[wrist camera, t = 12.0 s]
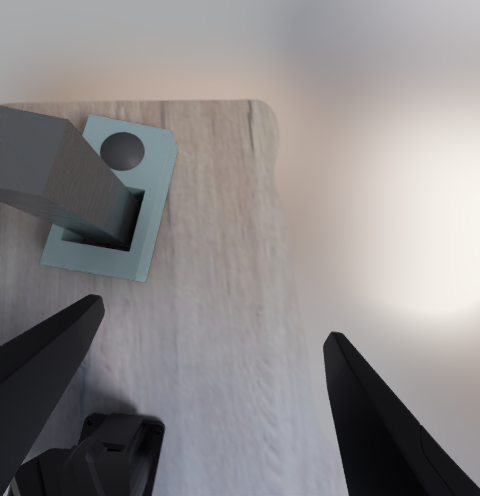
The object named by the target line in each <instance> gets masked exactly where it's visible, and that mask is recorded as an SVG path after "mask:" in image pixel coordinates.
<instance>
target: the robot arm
mask: <svg viewBox="0 0 480 496" xmlns="http://www.w3.org/2000/svg"><path fill="white" fill-rule="evenodd" d="M104 313H105V309H104V304H103V299H102V297H101V296H99V295H93V294H90V295H87V296H86V297H84V298H82V299H80V300H79V301H77V302H75V303H74V304H72V305H70V306H68V307H67V308H65V309H63V310H62V311H60V312H58V313H56V314H55V315H53V316H51V317H50V318H48V319H46V320H44V321H43V322H41V323H39V324H38V325H36V326H34V327H32V328H31V329H29V330H27V331H26V332H24V333H22V334H21V335H19V336H17V337H15V338H14V339H12V340H10V341H9V342H7V343H5V344H3V345H2V346H0V496H3V494H4V492H5V491H6V489H7V487H8V486H9V484H10V487H9V491H8V495H7V496H152V492H153V487H154V483H155V478H156V473H157V468H158V463H159V458H160V453H161V448H162V443H163V438H164V433H165V425H164V424H163V423H161V422H155V421H148V420H143V419H142V418H141V417H138V416H130V415H123V414H116V413H111V414H110V415H104V414H97V413H92V414H90V415H89V416H88V417H87V418H86V419H85V421H84V424H83V428H82V432H81V436H80V440H79V443H78V446H73V447H72V448H71V449H58V448H52V449H49V450H47V451H45V452H44V453H42V454H40V455H38V456H37V457H35V458H33V459H31V460H30V461H28V462H26V463H24V464H22V462H23V460H24V459H25V457H26V455H27V454H28V452H29V450H30V449H31V447H32V445H33V443H34V442H35V440H36V438H37V437H38V435H39V433H40V432H41V430H42V428H43V427H44V425H45V423H46V421H47V420H48V418H49V416H50V415H51V413H52V411H53V410H54V408H55V406H56V405H57V403H58V401H59V400H60V398H61V396H62V394H63V393H64V391H65V389H66V388H67V386H68V384H69V383H70V381H71V379H72V378H73V376H74V374H75V372H76V371H77V369H78V367H79V366H80V364H81V362H82V361H83V359H84V357H85V355H86V353H87V351H88V349H89V347H90V345H91V343H92V341H93V338H94V336H95V334H96V332H97V330H98V328H99V325H100V323H101V321H102V319H103V317H104ZM323 352H324V361H325V373H326V382H327V390H328V395H329V400H330V405H331V410H332V415H333V420H334V425H335V430H336V435H337V439H338V444H339V449H340V454H341V459H342V464H343V469H344V474H345V479H346V484H347V489H348V493H349V496H480V488H479V487H478V486H477V485H476V484H475V483H474V482H473V481H472V480H471V479H470V478H469V477H468V476H467V475H466V473H465V472H464V471H463V470H462V469H461V468H460V467H459V466H458V465H457V464H456V463H455V462H454V461H453V460H452V459H451V458H450V456H449V455H448V454H447V453H446V452H445V451H444V450H443V449H442V448H441V446H440V445H439V444H438V443H437V442H436V441H435V440H434V439H433V437H432V436H431V435H430V434H429V433H428V432H427V430H426V429H425V428H424V427H423V426H422V425H420V423H419V421H418V420H417V419H416V418H415V417H414V415H413V414H412V413H411V412H410V411H409V410H408V409H407V407H406V406H405V405H404V404H403V403H402V402H401V400H400V399H399V398H398V397H397V396H396V395H395V394H394V392H393V391H392V390H391V389H390V388H389V386H388V385H387V384H386V383H385V382H384V381H383V380H382V378H381V377H380V376H379V375H378V374H377V373H376V372H375V370H374V369H373V368H372V367H371V366H370V364H369V363H368V362H367V361H366V360H365V359H364V358H363V356H362V355H361V354H360V353H359V352H358V351H357V350H356V348H355V347H354V346H353V345H352V344H351V343H350V341H349V340H348V339H347V338H346V337H345V335H344V334H342V333H340V332H331V333H330V334H329V336H328V338H327V339H326V341H325V343H324V346H323ZM90 419H93V420H94V423H91V422H90ZM157 428H160V429H161V432H157V431H156V429H157ZM21 464H22V465H21ZM20 465H21V466H20ZM10 482H11V483H10Z"/></svg>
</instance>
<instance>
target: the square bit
mask: <svg viewBox="0 0 480 496" xmlns="http://www.w3.org/2000/svg"><path fill="white" fill-rule="evenodd" d="M0 201H1V202H3V203H6V204H8V205H10V206H13V207H15V208H17V209H20V210H22V211H24V212H27V213H29V214H31V215H34V216H36V217H38V218H41V219H43V220H45V221H47V222H50V223H52V224H54V225H57V226H59V227H61V228H64V229H66V230H68V231H71V232H73V233H75V234H78V235H80V236H82V237H85V238H87V239H89V240H92V241H96V242H102V243H107V244H113V245H119V246H125V247H130V248H131V244H132V240H133V236H134V232H135V229H136V225H137V221H138V217H139V213H140V210H141V206H142V205H141V204H140V203H139V202H138V200H137V199H136V198H135V197H134V196H133V195H132V193H131V192H130V191H129V190H128V189H127V187H126V186H125V185H124V184H123V183H122V182H121V180H120V179H119V178H118V177H117V176H116V175H115V173H114V172H113V171H112V170H111V169H110V168H109V166H108V165H107V164H106V163H105V162H104V161H103V159H102V158H101V157H100V156H99V155H98V154H97V152H96V151H95V150H94V149H93V148H92V147H91V145H90V144H89V143H88V142H87V141H86V140H85V138H84V137H83V136H82V135H81V134H80V133H79V131H78V130H77V129H76V128H75V127H74V125H73V124H72V123H71V122H70V121H69V120H68V119H63V118H58V117H53V116H48V115H43V114H38V113H33V112H28V111H23V110H18V109H13V108H7V107H2V106H0Z"/></svg>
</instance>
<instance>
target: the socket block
mask: <svg viewBox="0 0 480 496" xmlns="http://www.w3.org/2000/svg"><path fill="white" fill-rule="evenodd" d="M82 136H83V137H84V138H85V140H86V141H87V142H88V143H89V144H90V145H91V147H92V148H93V149H94V150H95V151H96V152H97V154H98V155H99V156H100V157H101V158H102V159H103V161H104V162H105V163H106V164H107V165H108V166H109V168H110V169H111V170H112V171H113V172H114V173H115V175H116V176H117V177H118V178H119V179H120V180H121V182H122V183H123V184H124V185H125V186H126V187H127V189H128V190H129V191H130V192H131V193H132V195H133V196H134V197H135V198H136V199H137V200H142V201H143V202H142V206H141V210H140V213H139V217H138V221H137V225H136V229H135V232H134V236H133V240H132V244H131V248H130V251H129V252H126V251H120V250H115V249H109V248H103V247H97V246H92V245H86V244H82V241H83V238H84V237H82V236H80V235H78V234H75V233H73V232H71V231H68V230H66V229H64V228H61V227H59V226H57V225H54V224H52V227H51V230H50V233H49V236H48V239H47V242H46V245H45V247H44V250H43V253H42V256H41V259H40V262H39V264H40V265H45V266H51V267H57V268H63V269H69V270H75V271H81V272H87V273H93V274H99V275H105V276H111V277H117V278H123V279H128V280H134V281H140V282H146V279H147V275H148V271H149V267H150V263H151V258H152V254H153V250H154V246H155V242H156V238H157V234H158V230H159V225H160V221H161V217H162V213H163V209H164V205H165V201H166V197H167V192H168V188H169V184H170V180H171V176H172V172H173V168H174V163H175V159H176V155H177V151H178V149H177V145H176V142H175V138H174V135H173V131H170V130H165V129H160V128H155V127H150V126H145V125H140V124H135V123H130V122H125V121H120V120H116V119H111V118H106V117H101V116H96V115H91V114H89V117H88V120H87V123H86V126H85V129H84V132H83V135H82Z"/></svg>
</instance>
